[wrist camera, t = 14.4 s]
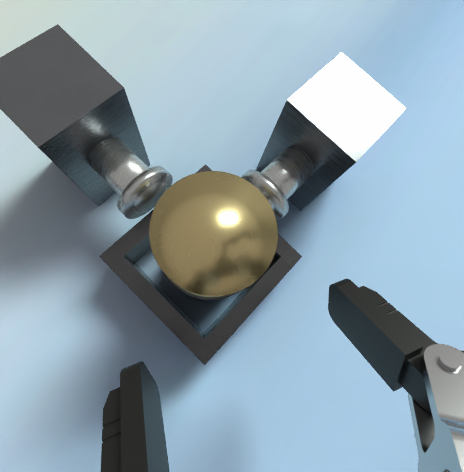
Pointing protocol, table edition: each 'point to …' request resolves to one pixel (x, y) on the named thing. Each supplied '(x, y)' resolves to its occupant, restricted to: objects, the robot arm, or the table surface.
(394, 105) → the shaft rig
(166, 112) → the table surface
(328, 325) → the table surface
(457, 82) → the table surface
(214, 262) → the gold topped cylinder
